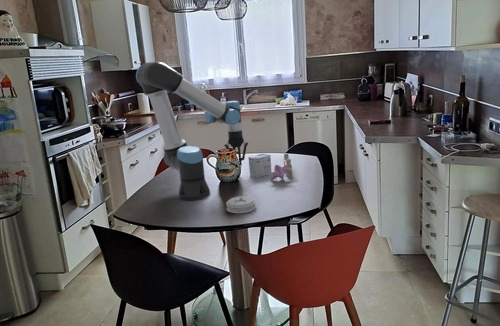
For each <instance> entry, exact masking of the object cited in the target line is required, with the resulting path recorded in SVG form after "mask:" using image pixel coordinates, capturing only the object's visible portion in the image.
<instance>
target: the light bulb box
mask: <svg viewBox="0 0 500 326" xmlns="http://www.w3.org/2000/svg"><path fill="white" fill-rule="evenodd" d="M247 158H248V166H249V176H250V177H253V178H260V177H264V176H267V175H268V176H269V174H270V173H272V160H271V154H268V153H259V154H256V155H252V156H248V157H247Z"/></svg>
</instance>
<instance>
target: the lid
mask: <svg viewBox="0 0 500 326" xmlns="http://www.w3.org/2000/svg"><path fill="white" fill-rule="evenodd" d="M256 202H257V201H256V199H255V198H253V197H252V196H246V195H243V196H235V197H231V198H230V199H228V200H227V201H226V202H225V206H226V211H227V212H229V213H233V214H245V213H250V212H252V211H254V210H255V209H257V205H256Z"/></svg>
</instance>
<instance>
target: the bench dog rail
mask: <svg viewBox="0 0 500 326" xmlns="http://www.w3.org/2000/svg"><path fill="white" fill-rule="evenodd" d="M287 164H288V166H287V168H288V169H291V171H288V172H286V173H285V176H286V177H289V178H290V177H293V164H292V159H291V158H290V157H289V153H286V152H285V153H283V167H284V166H285V165H287Z"/></svg>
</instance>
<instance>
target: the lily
mask: <svg viewBox="0 0 500 326" xmlns="http://www.w3.org/2000/svg"><path fill="white" fill-rule="evenodd" d="M287 166H288V164H287V165H285V166H284V165H283V166H281V165H278V164H275V165H274V168H273V170H274V171H273V172H272V173H270V174H268V176H271V178H270V181H273V180H275V179H277V178H279V179H281V180H282V182H283V183H285V181H284V180H285V179H284V178H285V177H284V176H285V174H286V172H288V171H291V169H288V168H287Z"/></svg>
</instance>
